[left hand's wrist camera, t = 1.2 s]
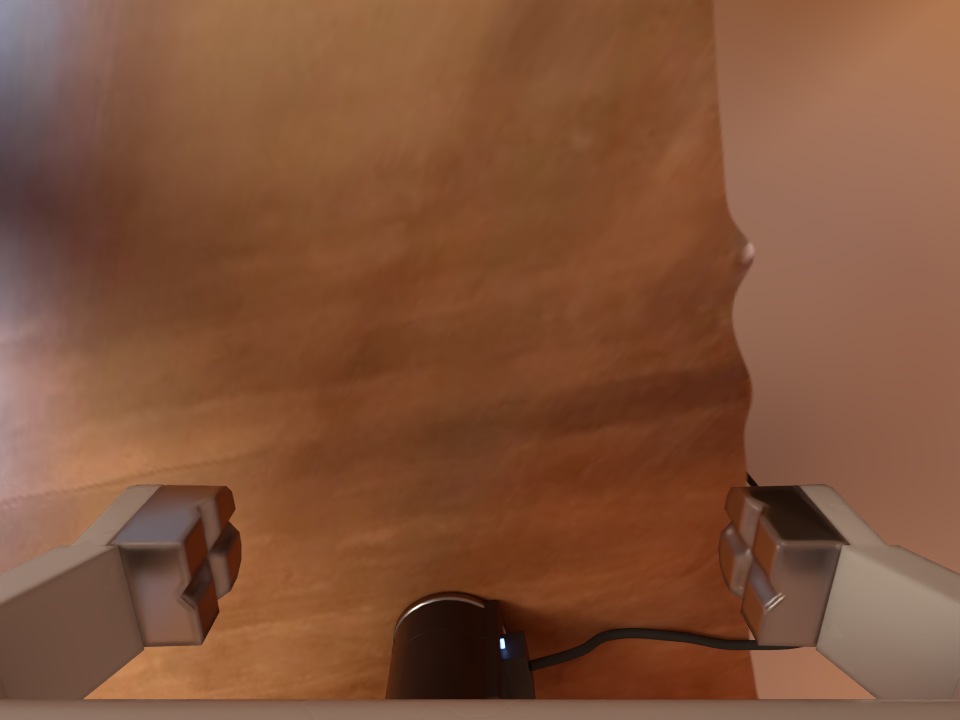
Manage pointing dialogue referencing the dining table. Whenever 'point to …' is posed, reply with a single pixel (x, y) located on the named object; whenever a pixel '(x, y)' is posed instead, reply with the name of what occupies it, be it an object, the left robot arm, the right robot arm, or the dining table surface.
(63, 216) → the dining table surface
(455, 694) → the right robot arm
